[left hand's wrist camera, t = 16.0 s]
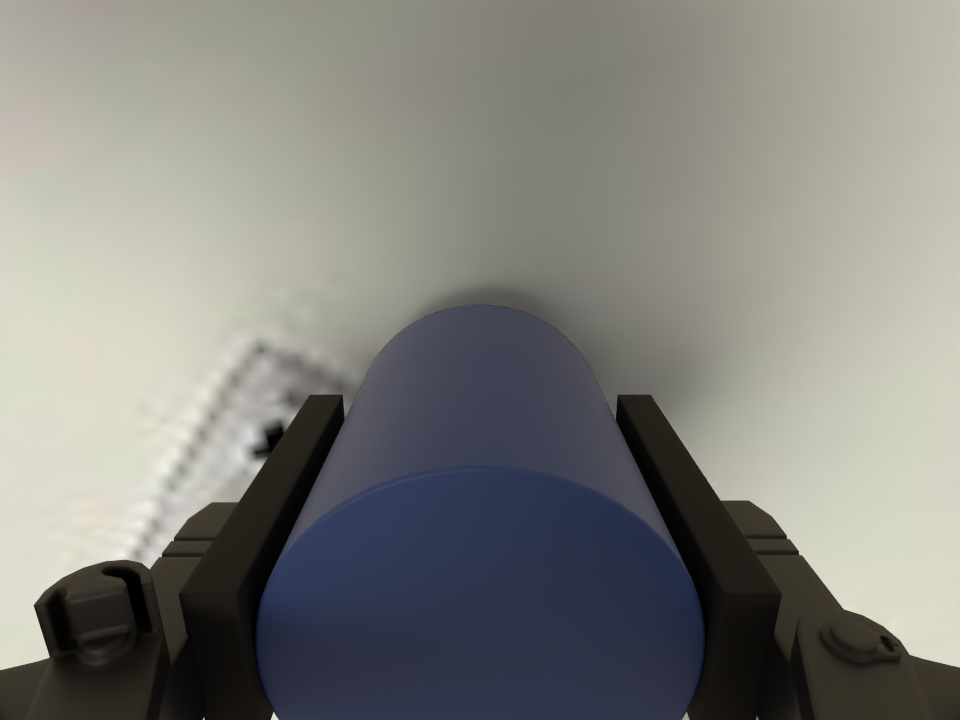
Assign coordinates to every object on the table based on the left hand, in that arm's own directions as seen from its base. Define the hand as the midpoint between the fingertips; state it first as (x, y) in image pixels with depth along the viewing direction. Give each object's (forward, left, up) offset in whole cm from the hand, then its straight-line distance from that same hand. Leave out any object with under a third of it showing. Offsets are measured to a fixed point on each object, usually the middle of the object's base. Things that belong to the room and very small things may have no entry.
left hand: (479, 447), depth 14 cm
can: (0, 0, -2) cm, 2 cm away
